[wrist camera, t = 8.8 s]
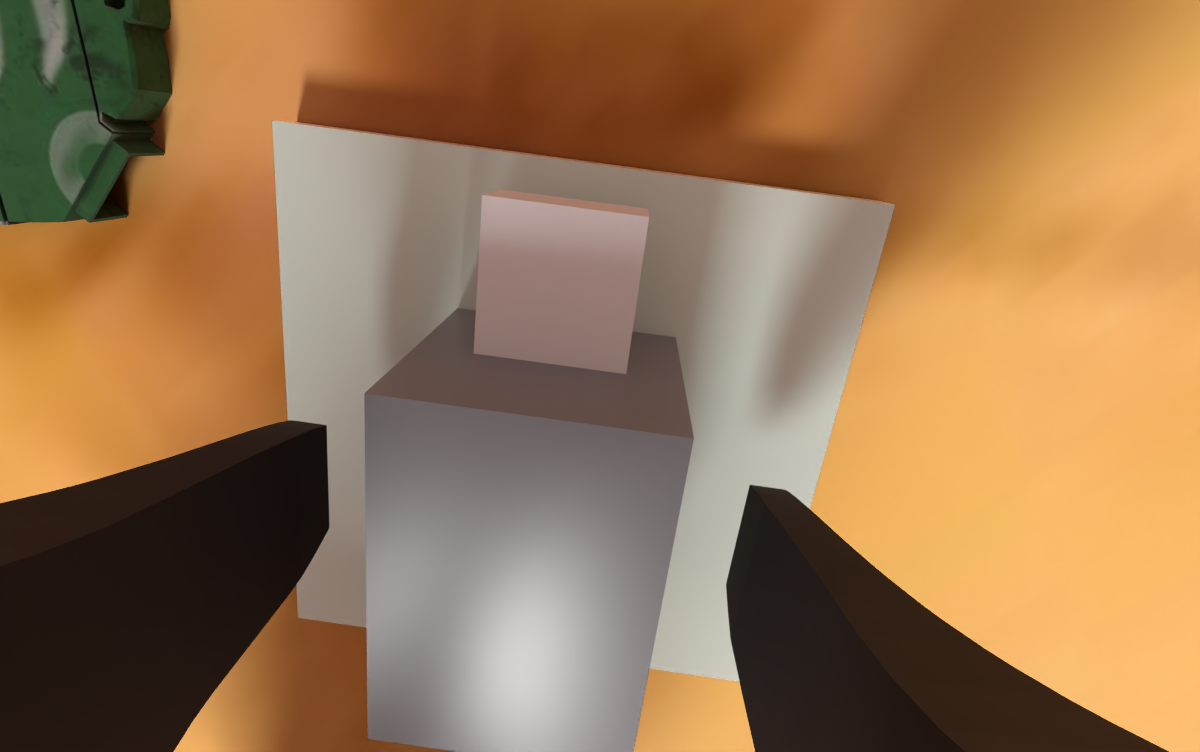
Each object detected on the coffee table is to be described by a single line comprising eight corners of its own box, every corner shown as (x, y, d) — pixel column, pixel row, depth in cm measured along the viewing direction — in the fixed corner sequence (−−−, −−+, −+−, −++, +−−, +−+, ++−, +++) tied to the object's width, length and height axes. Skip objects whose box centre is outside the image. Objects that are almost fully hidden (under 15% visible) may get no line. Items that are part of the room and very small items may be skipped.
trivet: (754, 658, 16) (759, 684, 15) (314, 595, 16) (297, 618, 15) (879, 200, 12) (895, 204, 11) (295, 121, 12) (271, 120, 11)
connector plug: (631, 592, 14) (628, 776, 10) (446, 566, 14) (367, 738, 10) (697, 208, 11) (730, 247, 7) (464, 177, 11) (362, 198, 7)
